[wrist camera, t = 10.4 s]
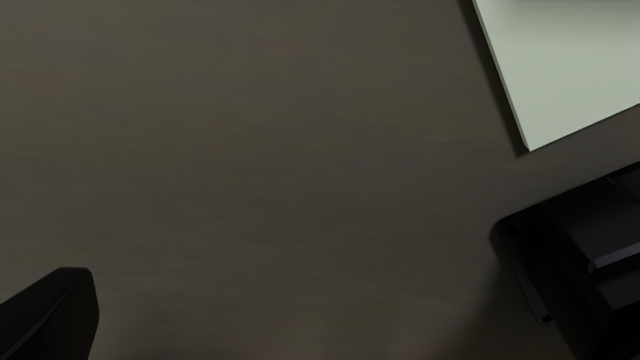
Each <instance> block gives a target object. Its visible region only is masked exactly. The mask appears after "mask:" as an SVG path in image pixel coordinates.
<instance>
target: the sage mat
mask: <svg viewBox="0 0 640 360" xmlns="http://www.w3.org/2000/svg"><path fill="white" fill-rule="evenodd" d="M472 2H473V5H474V7H475V10H476V13H477V16H478V18H479V21H480V24H481V27H482V29H483V32H484V35H485V38H486V40H487V43H488V46H489V49H490V52H491V54H492V57H493V60H494V63H495V65H496V68H497V71H498V74H499V76H500V79H501V82H502V85H503V87H504V90H505V93H506V96H507V98H508V101H509V104H510V107H511V109H512V112H513V115H514V118H515V120H516V123H517V126H518V129H519V131H520V134H521V137H522V140H523V142H524V145H525V146H526V147H527V148H528V149H529V151H532V150H534V149H537V148H539V147H541V146H543V145H546V144H548V143H550V142H552V141H555V140H557V139H559V138H562V137H564V136H566V135H568V134H571V133H573V132H575V131H577V130H580V129H582V128H584V127H586V126H589V125H591V124H593V123H595V122H598V121H600V120H602V119H605V118H607V117H609V116H611V115H614V114H616V113H618V112H620V111H623V110H625V109H627V108H629V107H632V106H634V105H636V104H638V103H640V0H472Z"/></svg>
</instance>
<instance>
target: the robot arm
mask: <svg viewBox="0 0 640 360" xmlns="http://www.w3.org/2000/svg"><path fill="white" fill-rule="evenodd" d="M509 227H514V228H513V229H512V230H511V231H506V230H507V229H508V228H509ZM496 228H497V232H498V235H499V237H500V239H501V242H502V244H503V246H504V249H505V251H506V253H507V256H508V258H509V260H510V263H511V265H512V267H513V269H514V272H515V274H516V276H517V279H518V281H519V283H520V286H521V288H522V290H523V293H524V295H525V297H526V300H527V302H528V304H529V306H530V309H531V311H532V313H533V316H534V318H535V320H536V321H537V323H538V324H539V325H541V326H550V325H553V324H555V325H556V327H557V329H558V330H559V332H560V334H561V335H562V337H563V339H564V341H565V342H566V344H567V346H568V347H569V349H570V351H571V353H572V354H573V356H574V358H575V360H640V161H639V162H636V163H634V164H631V165H629V166H627V167H624V168H622V169H620V170H617V171H615V172H612V173H610V174H608V175H605V176H603V177H600V178H598V179H596V180H593V181H591V182H588V183H586V184H584V185H581V186H579V187H577V188H574V189H572V190H569V191H567V192H565V193H562V194H560V195H557V196H555V197H553V198H550V199H548V200H546V201H543V202H541V203H538V204H536V205H534V206H531V207H529V208H526V209H524V210H522V211H519V212H517V213H514V214H512V215H510V216H507V217H505V218H503V219H502V220H500V221H499V223H498V224H497V227H496ZM545 315H546V316H545ZM98 323H99V306H98V301H97V296H96V290H95V285H94V280H93V276H92V273H91V271H90V270H89V269H87V268H83V267H60V268H58V269H56V270H54V271H52V272H51V273H49V274H48V275H46V276H44V277H43V278H41V279H40V280H38V281H37V282H35V283H33V284H32V285H30V286H29V287H27V288H25V289H24V290H22V291H21V292H19V293H17V294H16V295H14V296H13V297H11V298H9V299H8V300H6V301H5V302H3V303H1V304H0V360H88V357H89V354H90V350H91V347H92V344H93V340H94V337H95V334H96V330H97V327H98Z"/></svg>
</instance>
